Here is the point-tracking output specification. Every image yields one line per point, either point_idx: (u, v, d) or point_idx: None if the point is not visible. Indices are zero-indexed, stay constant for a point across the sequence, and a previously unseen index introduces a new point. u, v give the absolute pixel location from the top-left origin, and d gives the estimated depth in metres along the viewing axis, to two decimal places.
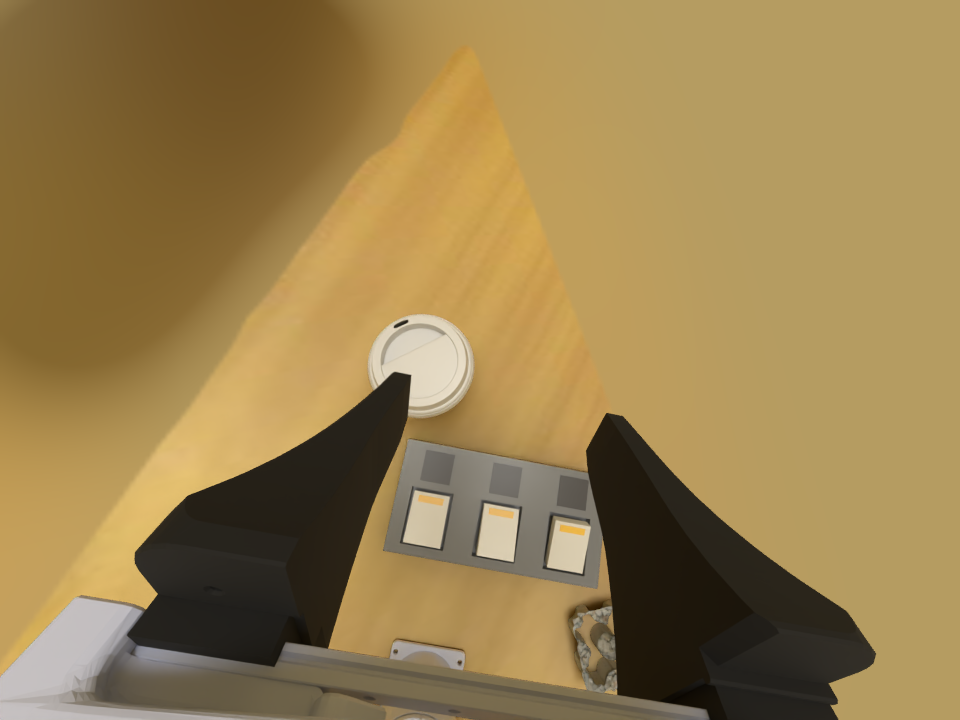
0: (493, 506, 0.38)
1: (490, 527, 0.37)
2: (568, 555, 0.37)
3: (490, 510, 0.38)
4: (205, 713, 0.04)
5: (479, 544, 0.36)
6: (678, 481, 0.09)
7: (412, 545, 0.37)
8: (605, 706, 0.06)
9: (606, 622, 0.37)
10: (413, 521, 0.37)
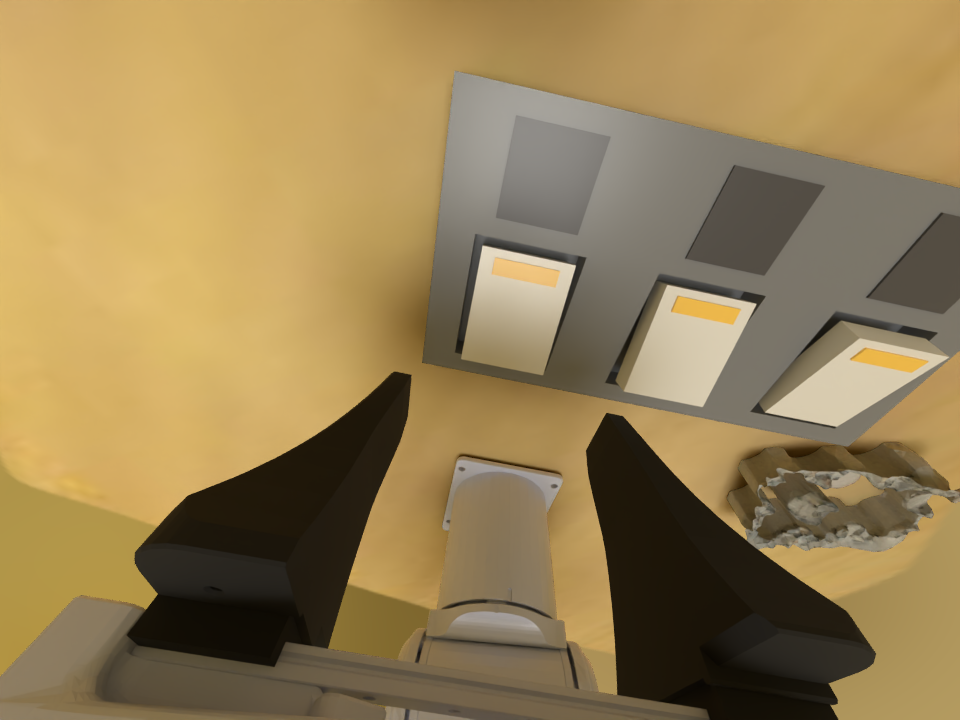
0: (689, 293, 0.14)
1: (668, 340, 0.15)
2: (831, 400, 0.16)
3: (679, 303, 0.15)
4: (205, 713, 0.04)
5: (633, 372, 0.16)
6: (678, 481, 0.09)
7: None
8: (605, 707, 0.06)
9: (828, 486, 0.21)
10: (482, 319, 0.15)
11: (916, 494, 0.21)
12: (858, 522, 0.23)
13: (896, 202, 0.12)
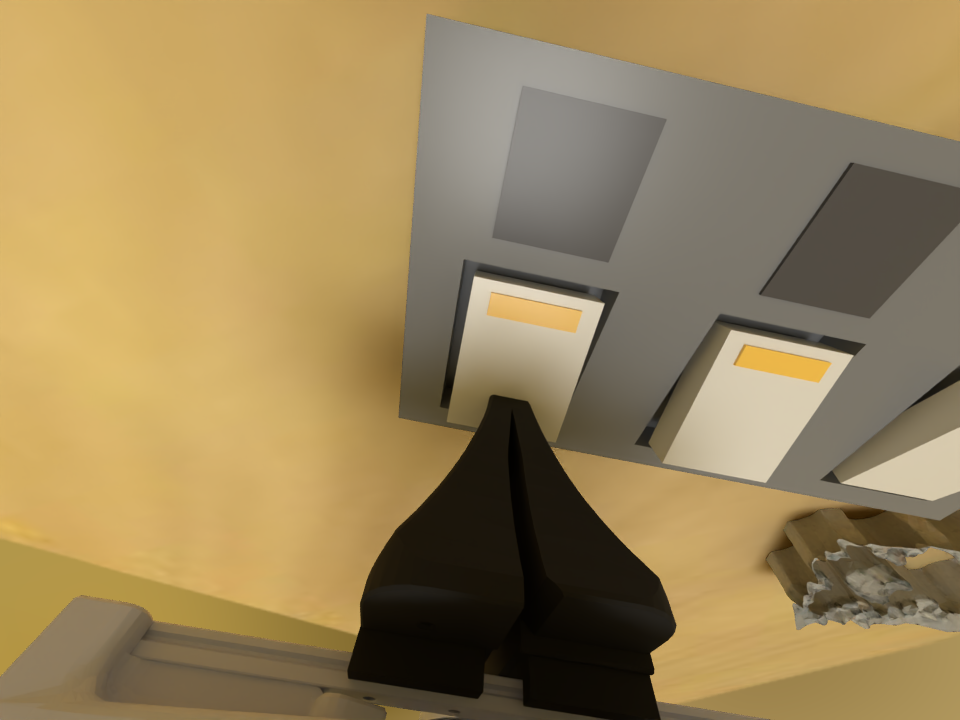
0: (760, 341, 0.10)
1: (727, 401, 0.11)
2: (936, 474, 0.12)
3: (745, 354, 0.11)
4: (205, 713, 0.04)
5: (677, 440, 0.12)
6: (552, 457, 0.09)
7: None
8: None
9: (902, 563, 0.17)
10: (474, 373, 0.11)
11: None
12: (929, 596, 0.19)
13: None
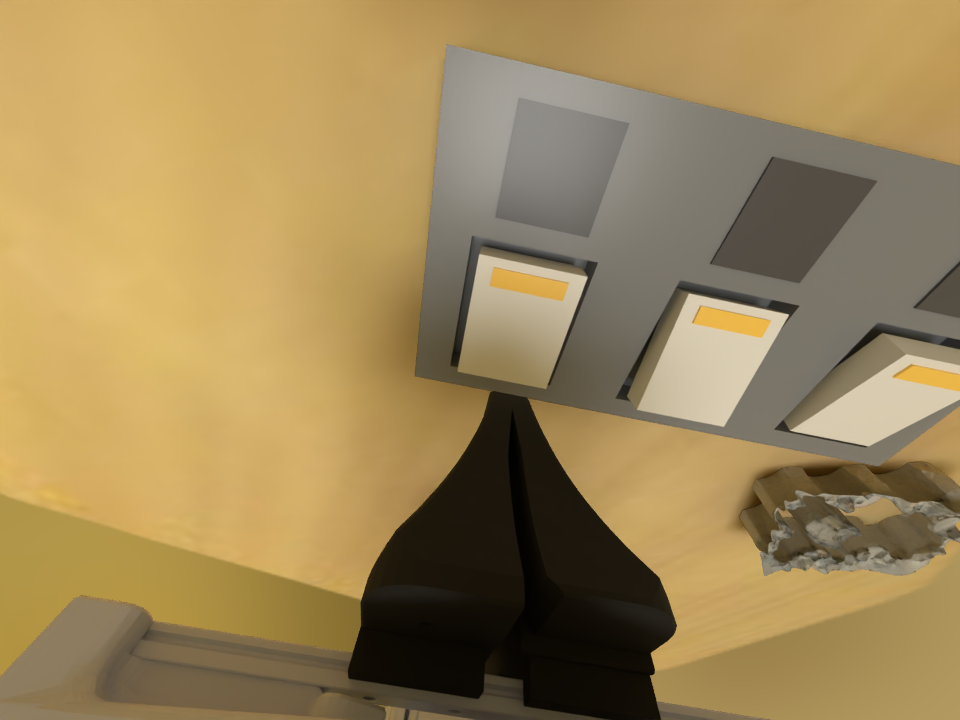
0: (713, 303, 0.13)
1: (688, 354, 0.14)
2: (866, 419, 0.15)
3: (701, 313, 0.13)
4: (205, 713, 0.04)
5: (648, 389, 0.14)
6: (553, 457, 0.09)
7: None
8: None
9: (851, 510, 0.19)
10: (480, 332, 0.14)
11: (945, 517, 0.20)
12: (880, 544, 0.22)
13: (958, 200, 0.11)
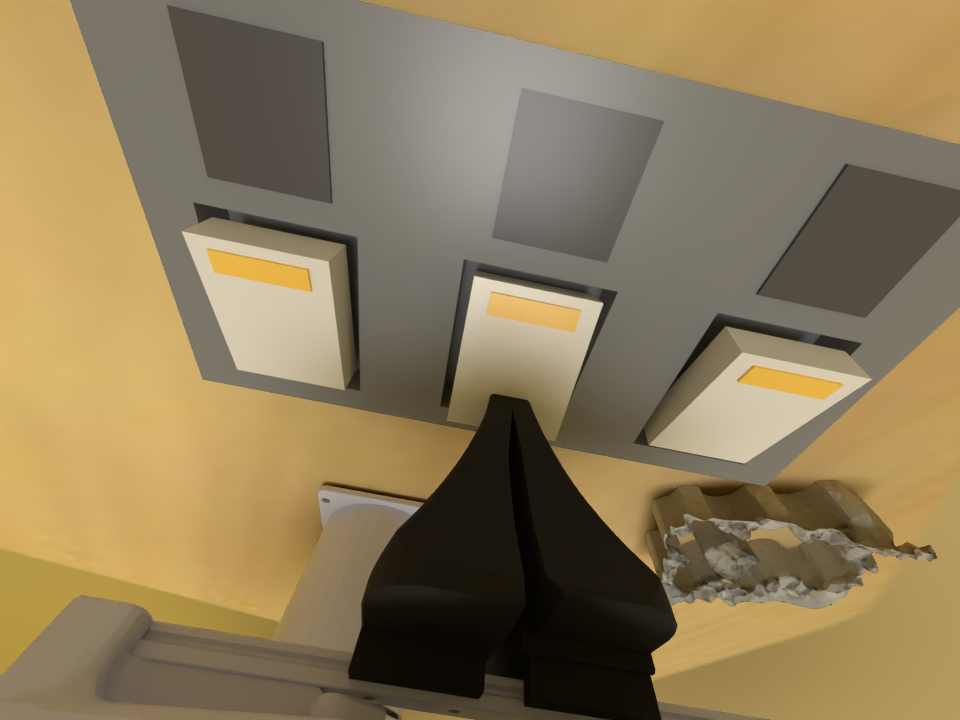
0: (507, 288, 0.10)
1: (491, 353, 0.11)
2: (728, 432, 0.12)
3: (494, 302, 0.10)
4: (205, 713, 0.04)
5: (454, 395, 0.12)
6: (553, 458, 0.09)
7: None
8: None
9: (746, 537, 0.17)
10: (237, 327, 0.11)
11: None
12: (793, 573, 0.19)
13: (777, 148, 0.08)
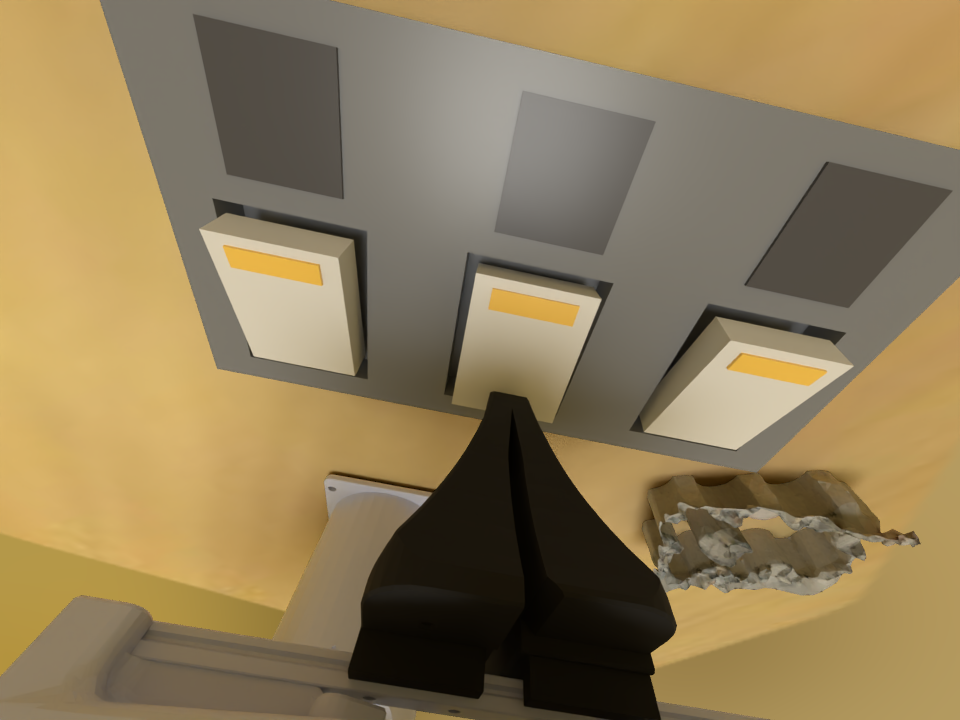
0: (508, 284, 0.11)
1: (493, 344, 0.12)
2: (719, 418, 0.13)
3: (496, 297, 0.11)
4: (205, 713, 0.04)
5: (458, 382, 0.12)
6: (553, 457, 0.09)
7: None
8: None
9: (738, 525, 0.17)
10: (253, 317, 0.12)
11: None
12: (785, 561, 0.20)
13: (761, 146, 0.09)
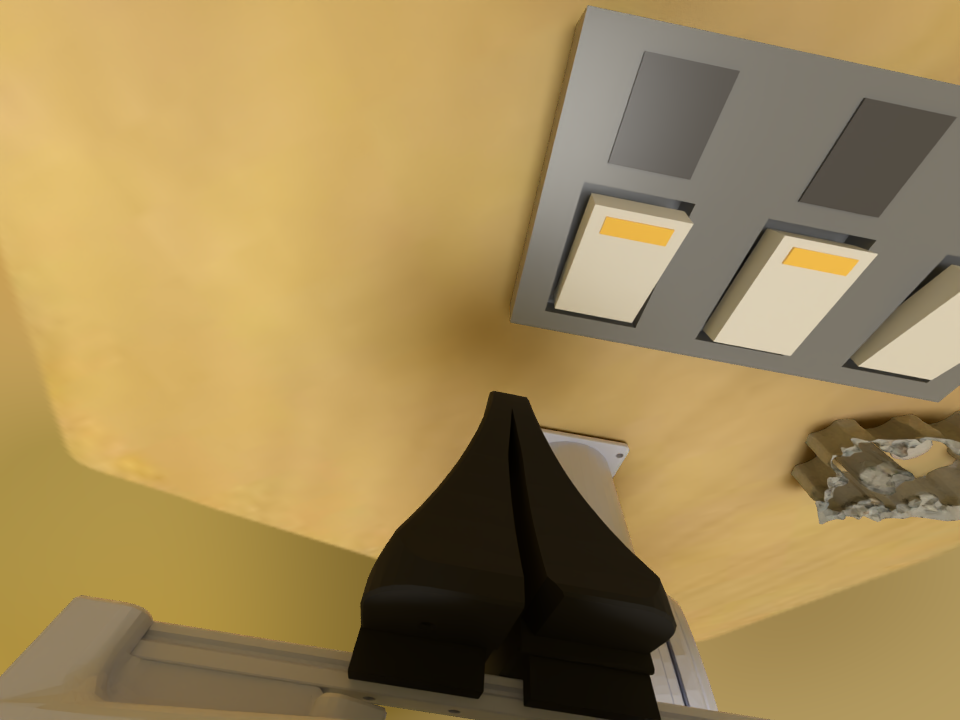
0: (806, 244, 0.14)
1: (771, 292, 0.15)
2: (932, 350, 0.16)
3: (793, 254, 0.14)
4: (205, 713, 0.04)
5: (727, 323, 0.16)
6: (553, 457, 0.09)
7: (570, 315, 0.17)
8: None
9: (905, 455, 0.21)
10: (581, 274, 0.15)
11: None
12: (930, 492, 0.23)
13: None
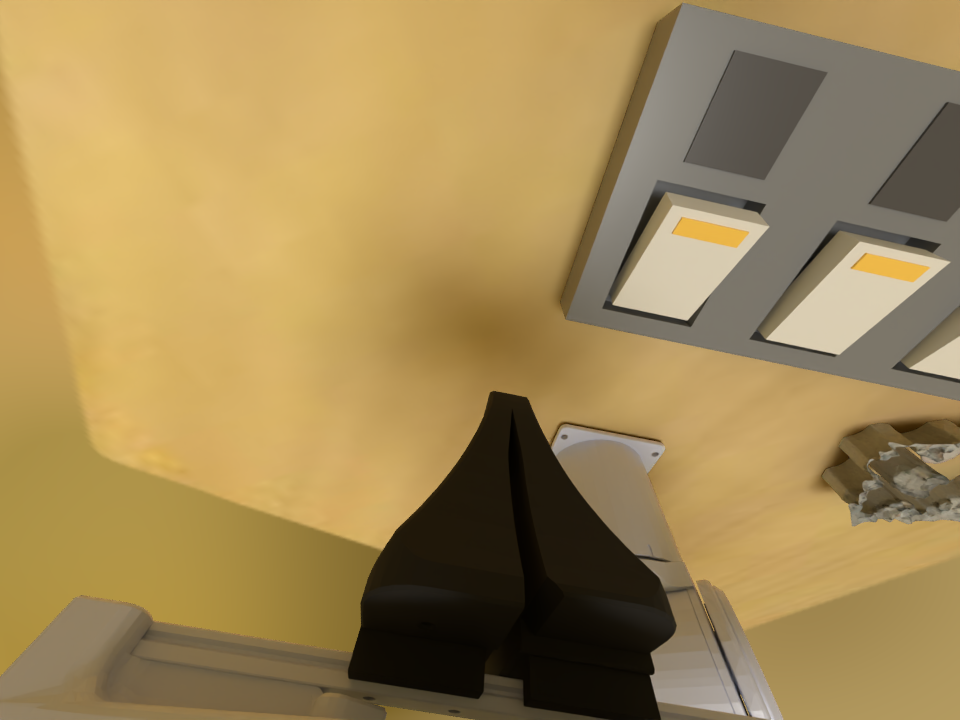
0: (879, 250, 0.14)
1: (833, 295, 0.15)
2: None
3: (863, 260, 0.14)
4: (205, 713, 0.04)
5: (783, 323, 0.16)
6: (553, 457, 0.09)
7: (627, 313, 0.18)
8: None
9: (941, 459, 0.21)
10: (645, 273, 0.16)
11: None
12: None
13: None
